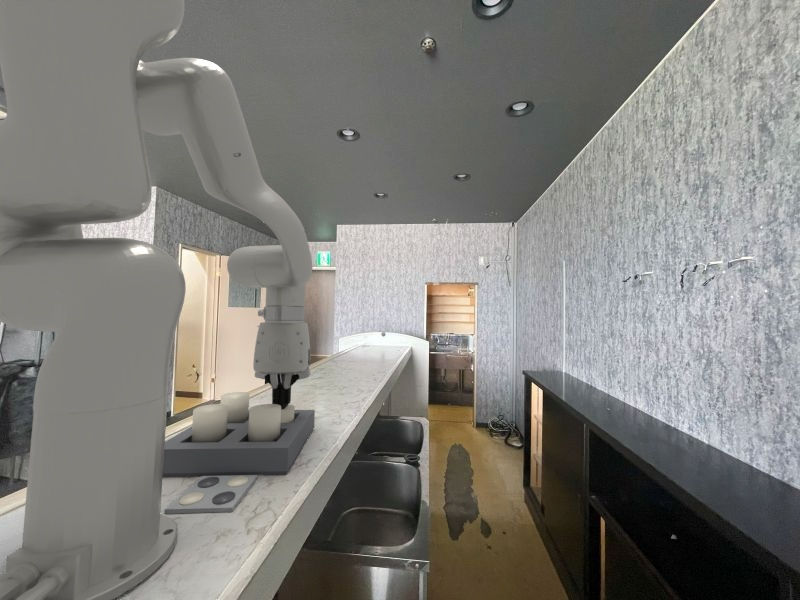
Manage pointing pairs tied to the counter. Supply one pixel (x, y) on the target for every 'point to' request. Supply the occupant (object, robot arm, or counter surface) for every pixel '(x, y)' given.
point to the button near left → (209, 423)
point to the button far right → (287, 414)
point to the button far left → (236, 406)
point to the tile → (213, 494)
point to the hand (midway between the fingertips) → (281, 407)
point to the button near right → (264, 423)
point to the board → (238, 451)
